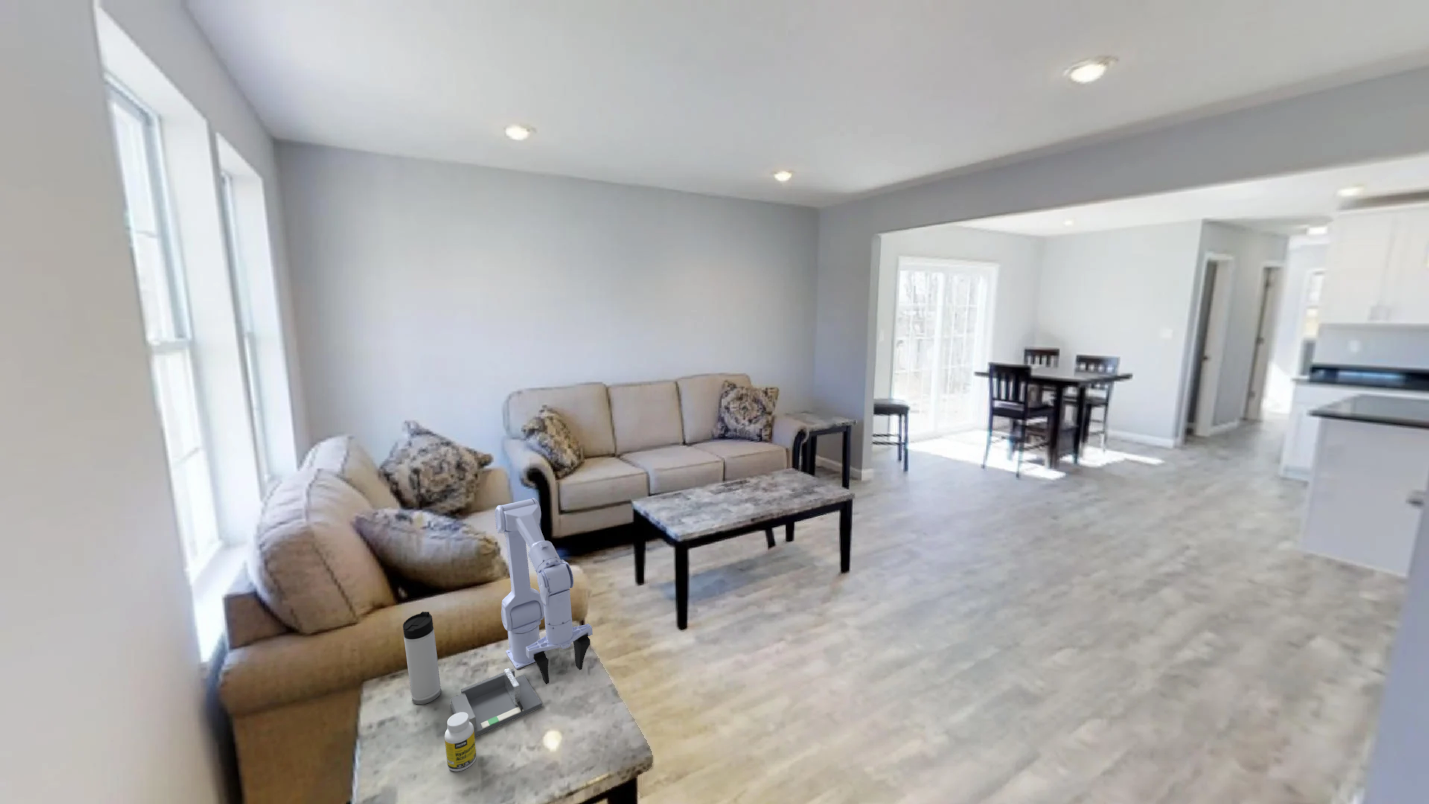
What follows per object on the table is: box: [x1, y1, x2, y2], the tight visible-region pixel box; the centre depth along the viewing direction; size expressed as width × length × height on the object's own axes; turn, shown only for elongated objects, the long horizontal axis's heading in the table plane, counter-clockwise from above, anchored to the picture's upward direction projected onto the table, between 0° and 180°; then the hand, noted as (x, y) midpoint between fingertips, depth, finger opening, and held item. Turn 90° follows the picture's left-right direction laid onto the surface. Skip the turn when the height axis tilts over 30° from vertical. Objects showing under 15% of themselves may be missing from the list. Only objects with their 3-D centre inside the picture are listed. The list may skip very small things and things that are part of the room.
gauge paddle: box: [503, 667, 523, 710], centre depth 129 cm, size 11×1×5 cm, turn 37°
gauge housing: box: [449, 668, 543, 738], centre depth 128 cm, size 13×17×4 cm
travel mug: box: [402, 611, 442, 705], centre depth 132 cm, size 6×7×20 cm
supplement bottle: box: [444, 712, 477, 772], centre depth 112 cm, size 5×5×10 cm
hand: (562, 674), depth 124 cm, fingers open, 7 cm apart
